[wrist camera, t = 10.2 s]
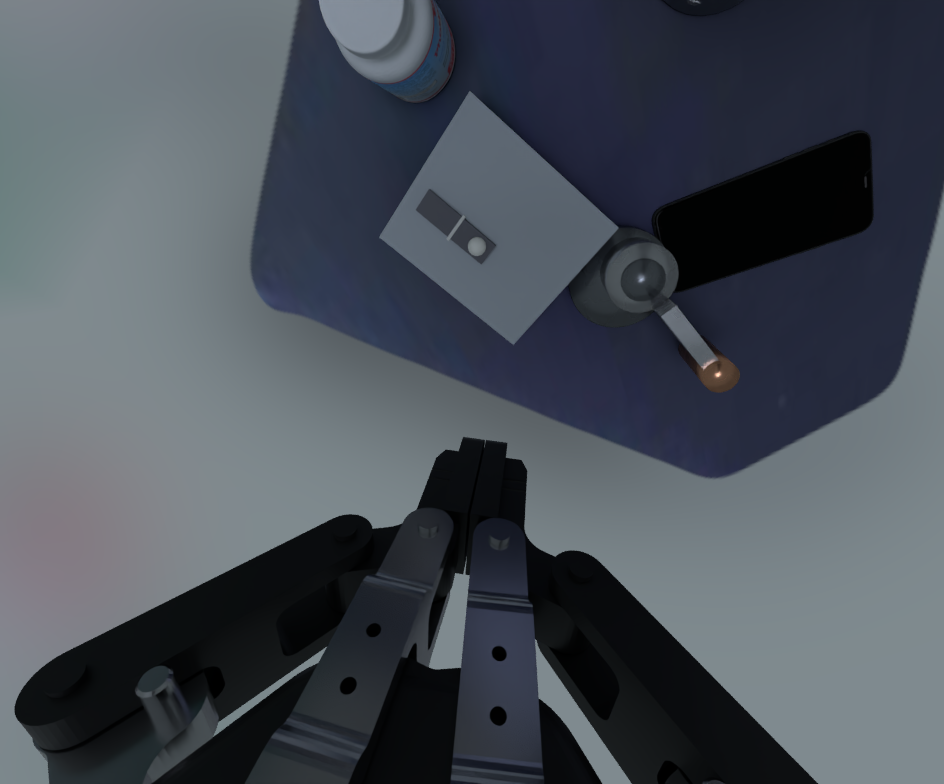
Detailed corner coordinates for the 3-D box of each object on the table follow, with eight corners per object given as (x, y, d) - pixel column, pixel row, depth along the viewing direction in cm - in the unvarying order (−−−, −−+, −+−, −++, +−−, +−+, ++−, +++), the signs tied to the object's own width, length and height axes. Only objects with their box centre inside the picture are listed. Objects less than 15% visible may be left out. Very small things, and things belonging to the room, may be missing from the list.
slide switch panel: (477, 101, 33) (466, 87, 28) (610, 222, 35) (622, 229, 30) (394, 231, 38) (373, 239, 33) (515, 329, 40) (512, 350, 35)
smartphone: (666, 295, 37) (868, 228, 33) (669, 297, 37) (876, 229, 32) (647, 210, 35) (865, 125, 30) (649, 210, 34) (873, 123, 30)
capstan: (548, 272, 37) (551, 293, 30) (627, 203, 34) (650, 209, 27) (645, 384, 40) (667, 427, 33) (724, 331, 37) (767, 366, 30)
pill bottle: (471, 68, 32) (441, 18, 22) (407, 121, 34) (353, 96, 24) (426, -20, 30) (370, -120, 20) (361, 41, 32) (281, -22, 22)
